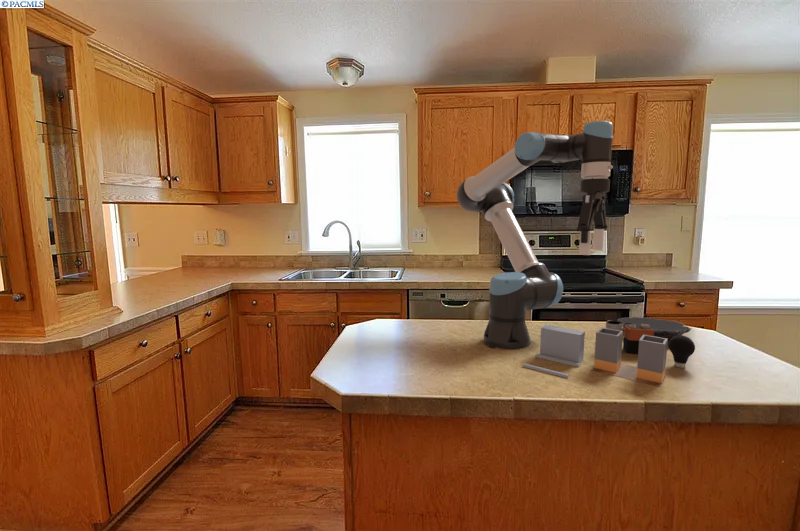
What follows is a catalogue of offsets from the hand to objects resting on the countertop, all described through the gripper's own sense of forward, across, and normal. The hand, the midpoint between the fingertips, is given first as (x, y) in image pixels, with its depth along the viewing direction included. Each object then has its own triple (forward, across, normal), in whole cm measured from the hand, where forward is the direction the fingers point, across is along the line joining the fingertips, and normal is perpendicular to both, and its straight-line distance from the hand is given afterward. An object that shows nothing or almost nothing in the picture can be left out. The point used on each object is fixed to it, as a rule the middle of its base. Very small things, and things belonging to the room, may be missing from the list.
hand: (591, 252), depth 115 cm
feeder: (+32, -15, +4) cm, 36 cm away
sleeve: (+30, -9, -18) cm, 36 cm away
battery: (+32, +9, -12) cm, 35 cm away
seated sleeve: (+30, -9, -8) cm, 33 cm away
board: (+32, +35, -12) cm, 49 cm away
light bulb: (+32, +4, -23) cm, 40 cm away
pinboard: (+32, -9, -13) cm, 35 cm away
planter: (+32, +6, -6) cm, 33 cm away
